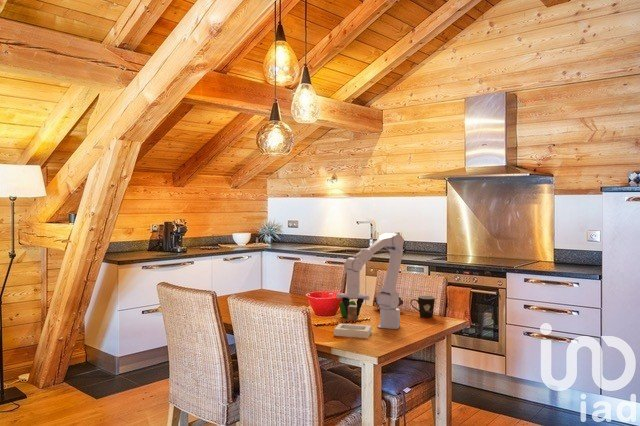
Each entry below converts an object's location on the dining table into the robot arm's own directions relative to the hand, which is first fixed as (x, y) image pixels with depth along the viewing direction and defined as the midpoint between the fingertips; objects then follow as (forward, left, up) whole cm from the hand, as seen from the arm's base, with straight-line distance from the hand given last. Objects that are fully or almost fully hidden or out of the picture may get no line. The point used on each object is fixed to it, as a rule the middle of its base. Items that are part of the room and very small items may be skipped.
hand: (352, 314), depth 236 cm
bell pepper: (+9, -30, -9) cm, 32 cm away
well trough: (0, 0, -8) cm, 8 cm away
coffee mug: (-28, -42, -9) cm, 51 cm away
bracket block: (0, 0, -2) cm, 2 cm away
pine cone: (-8, -52, -9) cm, 53 cm away
